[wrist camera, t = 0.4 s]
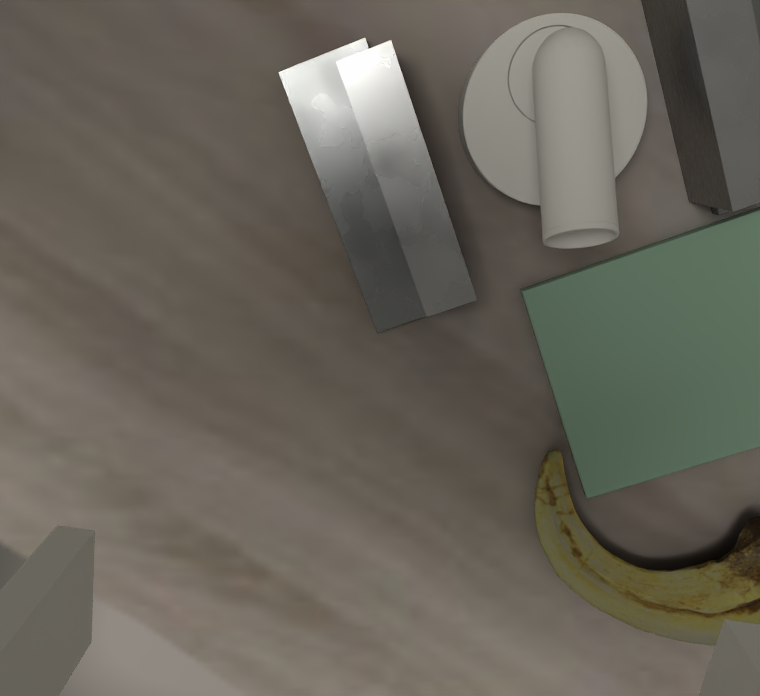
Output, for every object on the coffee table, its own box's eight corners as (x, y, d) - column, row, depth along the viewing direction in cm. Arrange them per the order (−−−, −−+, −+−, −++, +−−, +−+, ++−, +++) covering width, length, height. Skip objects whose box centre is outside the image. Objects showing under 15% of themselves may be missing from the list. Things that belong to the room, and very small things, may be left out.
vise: (281, 73, 35) (262, 64, 30) (743, -112, 32) (803, -154, 28) (377, 329, 39) (374, 356, 34) (800, 182, 36) (861, 190, 31)
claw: (868, 518, 41) (907, 554, 38) (792, 653, 45) (822, 696, 41) (542, 443, 40) (554, 474, 37) (491, 587, 44) (498, 626, 40)
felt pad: (520, 289, 38) (522, 291, 38) (763, 205, 36) (768, 207, 36) (584, 493, 42) (587, 498, 41) (808, 425, 40) (814, 430, 39)
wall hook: (480, 264, 28) (477, -13, 25) (460, 232, 37) (456, 26, 34) (699, 254, 28) (721, -27, 25) (624, 224, 37) (635, 16, 34)
